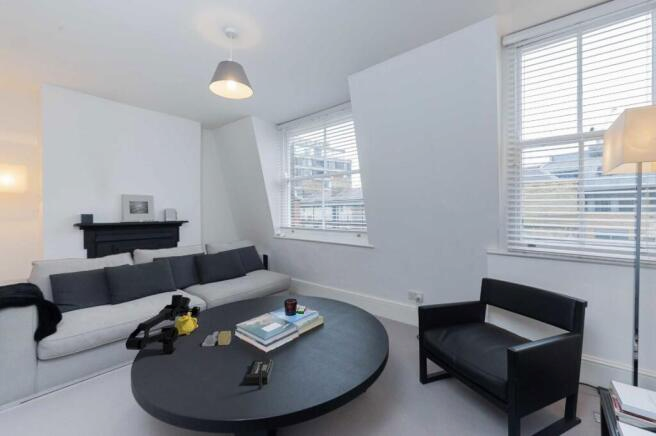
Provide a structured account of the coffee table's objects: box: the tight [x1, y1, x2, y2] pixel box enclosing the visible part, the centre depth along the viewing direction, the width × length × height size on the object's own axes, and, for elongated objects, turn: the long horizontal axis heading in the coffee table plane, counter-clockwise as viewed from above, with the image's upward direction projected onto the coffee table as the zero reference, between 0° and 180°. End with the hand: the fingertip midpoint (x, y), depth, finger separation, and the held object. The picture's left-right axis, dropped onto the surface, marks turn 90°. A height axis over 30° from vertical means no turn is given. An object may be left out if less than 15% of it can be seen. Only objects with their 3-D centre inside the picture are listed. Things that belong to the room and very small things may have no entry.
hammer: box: [201, 331, 220, 347], centre depth 181 cm, size 17×7×4 cm, turn 4°
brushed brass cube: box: [217, 330, 232, 346], centre depth 176 cm, size 6×6×6 cm
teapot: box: [174, 312, 199, 337], centre depth 191 cm, size 20×15×12 cm
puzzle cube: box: [296, 305, 307, 314], centre depth 206 cm, size 10×10×10 cm
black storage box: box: [244, 353, 274, 391], centre depth 141 cm, size 20×14×17 cm
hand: (192, 308), depth 191 cm, fingers open, 9 cm apart
